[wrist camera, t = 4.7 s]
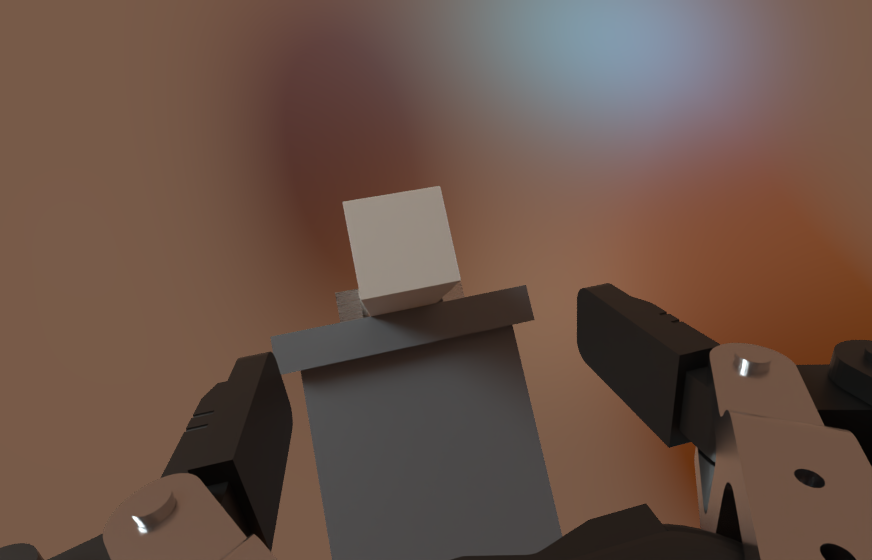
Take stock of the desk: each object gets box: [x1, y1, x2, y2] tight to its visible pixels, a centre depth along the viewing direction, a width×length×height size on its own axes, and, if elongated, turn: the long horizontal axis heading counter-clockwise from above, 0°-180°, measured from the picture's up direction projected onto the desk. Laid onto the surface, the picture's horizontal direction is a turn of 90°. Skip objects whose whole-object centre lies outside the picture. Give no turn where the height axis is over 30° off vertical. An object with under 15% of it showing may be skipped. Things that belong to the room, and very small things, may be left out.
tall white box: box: [343, 186, 461, 316], centre depth 26 cm, size 4×22×4 cm, turn 6°
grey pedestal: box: [271, 281, 562, 560], centre depth 28 cm, size 15×15×34 cm
